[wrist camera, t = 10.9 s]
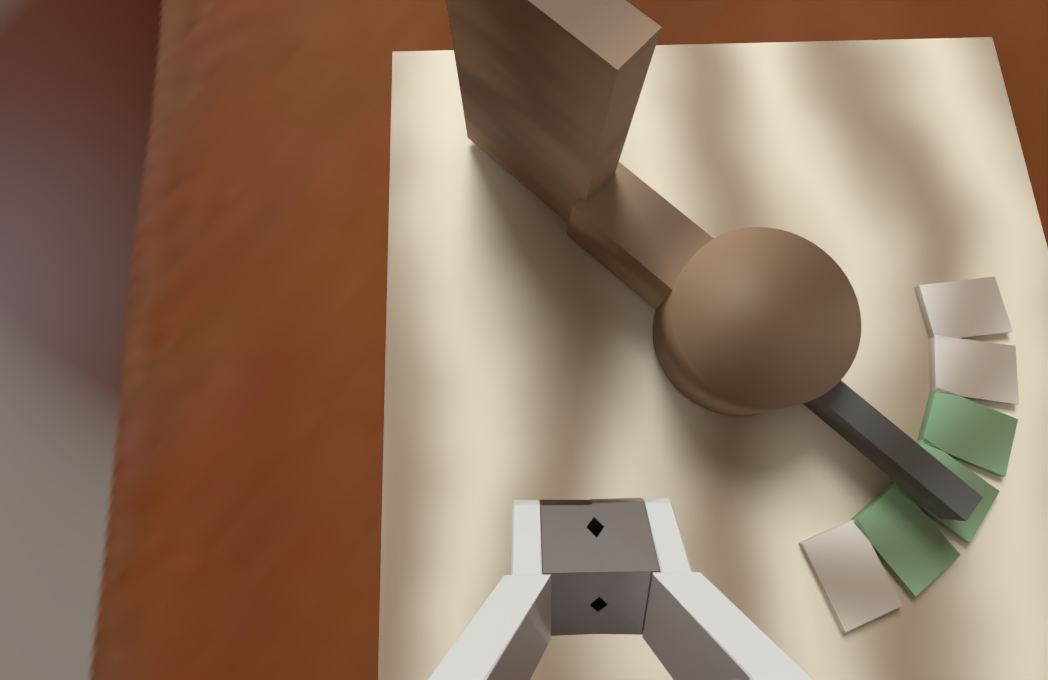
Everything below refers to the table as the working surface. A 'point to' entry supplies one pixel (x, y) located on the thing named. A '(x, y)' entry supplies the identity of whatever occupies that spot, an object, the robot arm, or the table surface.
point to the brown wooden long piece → (673, 230)
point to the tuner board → (716, 439)
